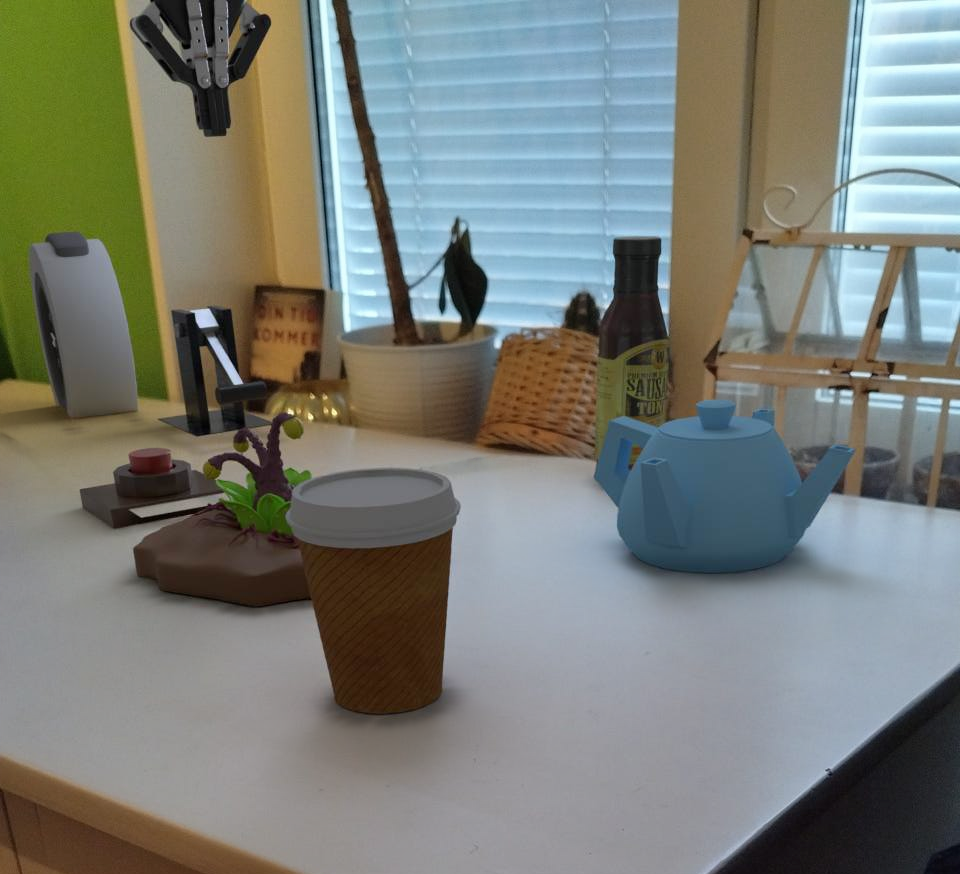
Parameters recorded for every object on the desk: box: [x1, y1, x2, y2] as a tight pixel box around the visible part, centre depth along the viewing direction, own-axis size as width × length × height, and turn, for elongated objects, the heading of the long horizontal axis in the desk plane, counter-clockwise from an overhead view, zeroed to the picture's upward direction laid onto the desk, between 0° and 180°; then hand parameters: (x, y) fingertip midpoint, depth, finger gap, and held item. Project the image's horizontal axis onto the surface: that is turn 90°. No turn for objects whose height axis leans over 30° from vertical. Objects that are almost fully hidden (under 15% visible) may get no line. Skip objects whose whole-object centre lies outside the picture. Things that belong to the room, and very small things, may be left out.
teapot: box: [593, 398, 856, 574], centre depth 96 cm, size 15×15×11 cm
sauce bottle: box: [594, 235, 671, 471], centre depth 115 cm, size 6×6×20 cm
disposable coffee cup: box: [285, 467, 462, 715], centre depth 74 cm, size 10×10×12 cm
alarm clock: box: [28, 230, 139, 419], centre depth 151 cm, size 21×8×20 cm, turn 23°
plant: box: [132, 411, 312, 607], centre depth 98 cm, size 20×20×11 cm
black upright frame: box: [157, 304, 273, 437], centre depth 140 cm, size 12×9×13 cm
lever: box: [189, 308, 268, 406], centre depth 136 cm, size 12×5×2 cm
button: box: [128, 447, 173, 474], centre depth 115 cm, size 4×4×2 cm
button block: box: [79, 458, 225, 530], centre depth 116 cm, size 11×9×4 cm
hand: (215, 136), depth 120 cm, fingers closed
